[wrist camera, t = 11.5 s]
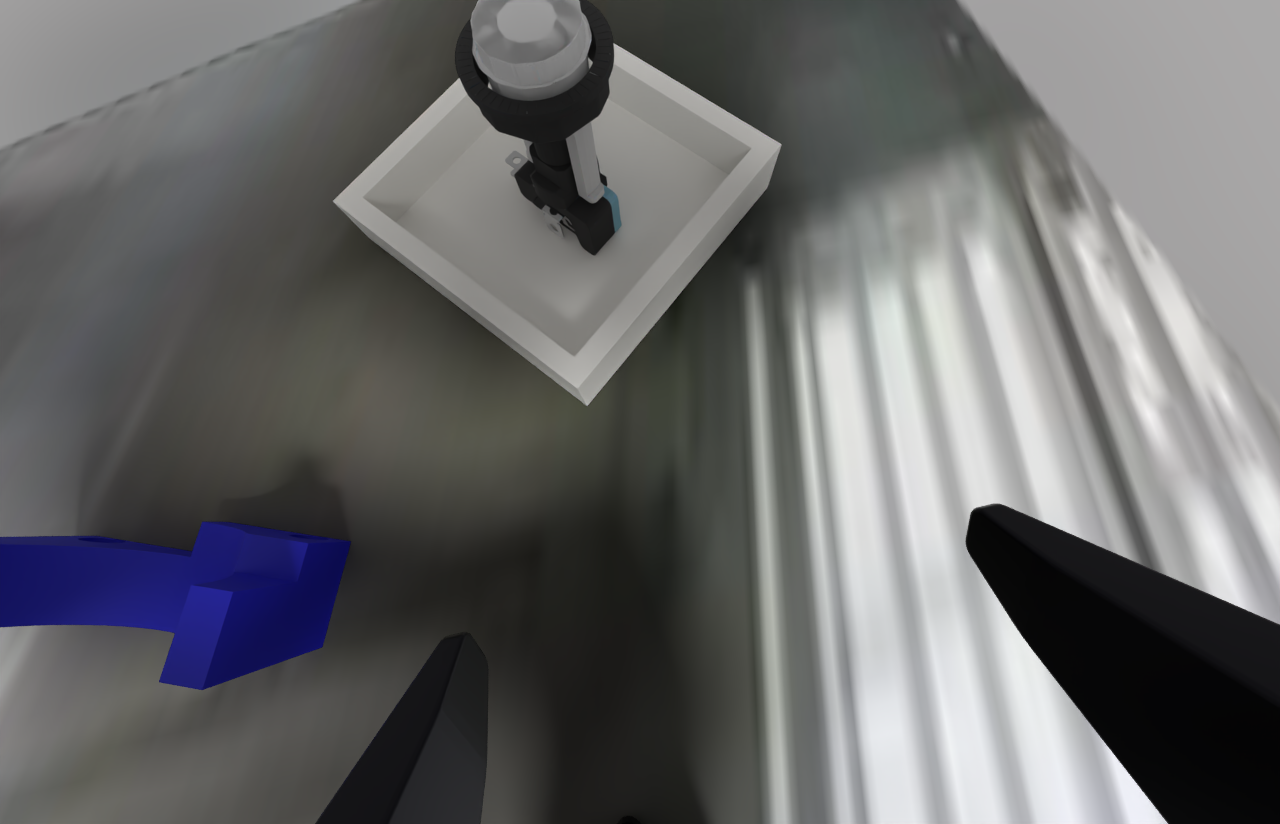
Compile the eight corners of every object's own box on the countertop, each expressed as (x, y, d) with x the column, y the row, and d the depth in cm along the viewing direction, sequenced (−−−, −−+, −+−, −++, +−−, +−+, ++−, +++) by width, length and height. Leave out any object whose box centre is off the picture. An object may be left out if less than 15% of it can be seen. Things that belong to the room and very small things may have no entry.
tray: (587, 406, 23) (577, 388, 21) (368, 238, 26) (332, 201, 23) (767, 187, 26) (781, 144, 23) (552, 53, 28) (540, -1, 25)
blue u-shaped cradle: (353, 541, 23) (247, 545, 17) (325, 646, 22) (202, 689, 16) (112, 503, 23) (-69, 495, 17) (74, 602, 22) (-132, 629, 16)
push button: (484, 210, 25) (378, 13, 16) (551, 141, 26) (490, -87, 17) (582, 282, 24) (533, 117, 15) (649, 207, 25) (645, 4, 15)
